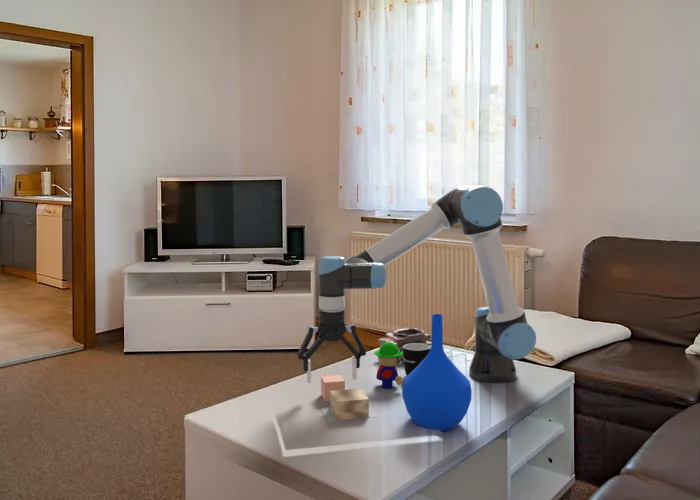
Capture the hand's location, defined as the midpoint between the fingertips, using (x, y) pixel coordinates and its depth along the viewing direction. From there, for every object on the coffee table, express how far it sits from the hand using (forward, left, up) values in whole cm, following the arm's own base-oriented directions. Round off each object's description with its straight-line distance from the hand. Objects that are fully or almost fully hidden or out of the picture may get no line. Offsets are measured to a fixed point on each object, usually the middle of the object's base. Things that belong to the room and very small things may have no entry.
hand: (331, 380), depth 191 cm
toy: (-19, -6, -7) cm, 21 cm away
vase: (-24, +24, -7) cm, 35 cm away
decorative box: (-35, -37, -7) cm, 52 cm away
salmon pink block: (0, 0, -7) cm, 7 cm away
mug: (-32, -15, -7) cm, 36 cm away
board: (-2, +13, -6) cm, 15 cm away
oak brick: (-2, +13, -5) cm, 14 cm away
